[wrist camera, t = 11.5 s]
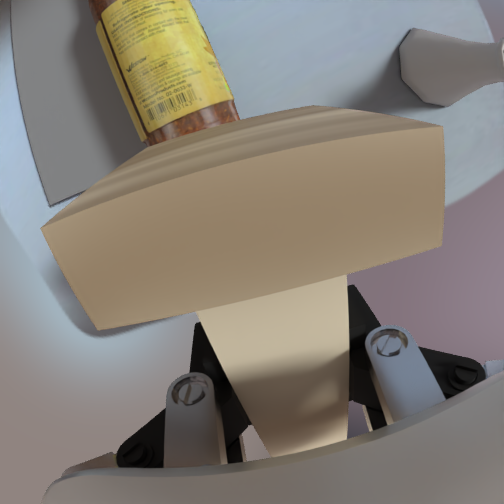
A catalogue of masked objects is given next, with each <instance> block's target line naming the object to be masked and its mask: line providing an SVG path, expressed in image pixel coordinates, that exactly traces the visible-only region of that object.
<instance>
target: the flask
mask: <svg viewBox="0 0 504 504" xmlns="http://www.w3.org/2000/svg"><path fill="white" fill-rule="evenodd" d="M399 52H400V63H401V76H402V80H403V81H404V82H405V83H406V84H407V85H408V86H409V87H410V88H411V89H412V90H413V91H414V92H415V93H416V94H417V95H418V96H419V97H420V98H421V99H422V101H423V102H426V103H431V104H436V105H441V106H446V107H449V106H450V105H452V104H454V103H455V102H457V101H459V100H460V99H462V98H463V97H465V96H466V95H468V94H470V93H472V92H474V91H476V90H477V89H479V88H481V87H483V86H485V85H489V84H493V83H497V82H504V38H501V39H500V41H499V42H498V43H479V42H471V41H466V40H462V39H458V38H454V37H450V36H446V35H442V34H438V33H434V32H430V31H426V30H422V29H416V28H412V30H411V31H410V32H409V34H408V35H407V37H406V38H405V40H404V41H403V42H402V44H401V45H400V47H399Z"/></svg>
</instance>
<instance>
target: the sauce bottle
mask: <svg viewBox="0 0 504 504" xmlns="http://www.w3.org/2000/svg"><path fill="white" fill-rule="evenodd" d="M88 2H89V8H90V11H91V13H92V16H93V19H94V22H95V24H96V32H97V35H98V38H99V40H100V43H101V46H102V48H103V51H104V53H105V56H106V59H107V61H108V64H109V66H110V69H111V71H112V74H113V76H114V79H115V81H116V83H117V86H118V88H119V91H120V93H121V95H122V98H123V100H124V103H125V105H126V107H127V110H128V112H129V114H130V117H131V119H132V121H133V123H134V126H135V128H136V130H137V132H138V135H139V137H140V139H141V141H142V142H143V143H146V145H147V147H150V146H153V145H156V144H159V143H162V142H165V141H168V140H171V139H174V138H177V137H180V136H184V135H187V134H190V133H194V132H197V131H200V130H204V129H208V128H211V127H215V126H218V125H222V124H226V123H230V122H234V121H238V120H240V118H239V115H238V113H237V110H236V107H235V104H234V97H233V95H232V92H231V90H230V88H229V86H228V84H227V82H226V79H225V77H224V74H223V72H222V70H221V67H220V65H219V63H218V61H217V58H216V56H215V54H214V52H213V49H212V47H211V45H210V42H209V40H208V37H207V35H206V33H205V31H204V29H203V27H202V25H201V24H200V21H199V19H198V16H197V14H196V12H195V10H194V8H193V6H192V4H191V2H190V0H88Z"/></svg>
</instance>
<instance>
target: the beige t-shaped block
mask: <svg viewBox="0 0 504 504" xmlns="http://www.w3.org/2000/svg"><path fill="white" fill-rule="evenodd" d="M444 204H445V152H444V134H443V126H440V125H435V124H431V123H427V122H422V121H418V120H413V119H408V118H403V117H398V116H392V115H387V114H381V113H374V112H368V111H361V110H353V109H345V108H336V107H326V106H314V105H312V106H306V107H300V108H294V109H289V110H284V111H279V112H274V113H269V114H264V115H260V116H255V117H251V118H246V119H242V120H238V121H234V122H230V123H226V124H222V125H218V126H215V127H211V128H208V129H204V130H200V131H197V132H194V133H190V134H187V135H184V136H180V137H177V138H174V139H171V140H168V141H165V142H162V143H159V144H156V145H153V146H150V147H147V148H146V149H144V150H143V151H141V152H139V153H138V154H136V155H135V156H133V157H132V158H130V159H129V160H127V161H126V162H125V163H123V164H122V165H120V166H119V167H117V168H116V169H114V170H113V171H112V172H110V173H109V174H107V175H106V176H105V177H103V178H102V179H101V180H99V181H98V182H97V183H95V184H94V185H93V186H91V187H90V188H89V189H87V190H86V191H85V192H83V193H82V194H81V195H80V196H78V197H77V198H76V199H74V200H73V201H72V202H71V203H70V204H68V205H67V206H66V207H65V208H63V209H62V210H61V211H60V212H59V213H57V214H56V215H55V216H54V217H53V218H52V219H50V220H49V221H48V222H47V223H46V224H45V225H44V226H42V227H41V228H40V229H41V231H42V233H43V235H44V237H45V239H46V241H47V243H48V245H49V247H50V250H51V251H52V253H53V255H54V257H55V259H56V261H57V263H58V265H59V267H60V269H61V271H62V272H63V274H64V276H65V278H66V280H67V281H68V283H69V285H70V287H71V288H72V290H73V292H74V294H75V295H76V297H77V299H78V300H79V302H80V304H81V305H82V307H83V308H84V310H85V312H86V313H87V315H88V316H89V318H90V319H91V321H92V322H93V324H94V326H95V327H96V329H97V330H98V331H99V330H105V329H110V328H116V327H121V326H127V325H132V324H137V323H143V322H148V321H153V320H158V319H163V318H168V317H173V316H177V315H182V314H187V313H192V312H196V313H197V315H198V317H199V320H200V322H201V324H202V326H203V328H204V330H205V333H206V335H207V337H208V339H209V341H210V343H211V345H212V347H213V349H214V351H215V353H216V356H217V358H218V360H219V362H220V364H221V366H222V368H223V370H224V372H225V374H226V376H227V378H228V380H229V381H230V383H231V385H232V387H233V389H234V391H235V393H236V395H237V397H238V399H239V401H240V402H241V404H242V406H243V408H244V410H245V412H246V414H247V415H248V417H249V419H250V421H251V423H252V424H253V426H254V428H255V430H256V432H257V433H258V435H259V437H260V439H261V440H262V442H263V444H264V446H265V447H266V449H267V451H268V452H269V454H270V456H271V458H272V457H278V456H283V455H288V454H292V453H297V452H302V451H306V450H310V449H314V448H318V447H322V446H326V445H329V444H333V443H336V442H340V441H343V440H347V424H348V404H349V403H348V402H349V315H348V292H347V276H346V274H350V273H353V272H357V271H360V270H364V269H367V268H371V267H374V266H378V265H381V264H385V263H387V262H391V261H395V260H398V259H401V258H404V257H408V256H411V255H414V254H417V253H421V252H424V251H427V250H430V249H433V248H437V247H440V246H441V245H442V236H443V223H444Z"/></svg>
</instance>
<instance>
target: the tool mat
mask: <svg viewBox="0 0 504 504" xmlns="http://www.w3.org/2000/svg"><path fill="white" fill-rule="evenodd" d="M11 26H12V42H13V53H14V62H15V70H16V77H17V83H18V89H19V95H20V101H21V106H22V111H23V115H24V120H25V124H26V128H27V132H28V136H29V140H30V144H31V148H32V151H33V155H34V158H35V162H36V165H37V168H38V171H39V175H40V178H41V181H42V184H43V187H44V190H45V193H46V195H47V198H48V201H49V204H50V205H52V204H54V203H56V202H59V201H61V200H63V199H65V198H68V197H70V196H72V195H75V194H77V193H79V192H82V191H84V190H87V189H89V188H90V187H91V186H93V185H94V184H95V183H97V182H98V181H99V180H101V179H102V178H103V177H105V176H106V175H107V174H109V173H110V172H112V171H113V170H114V169H116V168H117V167H119V166H120V165H122V164H123V163H125V162H126V161H127V160H129V159H130V158H132V157H133V156H135V155H136V154H138V153H139V152H141V151H143V150H144V149H146V148H147V145H146V143H143V142H142V141H141V139H140V137H139V135H138V132H137V130H136V128H135V126H134V123H133V121H132V119H131V117H130V114H129V112H128V110H127V107H126V105H125V103H124V100H123V98H122V95H121V93H120V91H119V88H118V86H117V83H116V81H115V79H114V76H113V74H112V71H111V69H110V66H109V64H108V61H107V59H106V56H105V53H104V51H103V48H102V46H101V43H100V40H99V38H98V35H97V32H96V24H95V22H94V19H93V16H92V13H91V11H90V8H89V2H88V0H11Z"/></svg>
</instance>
